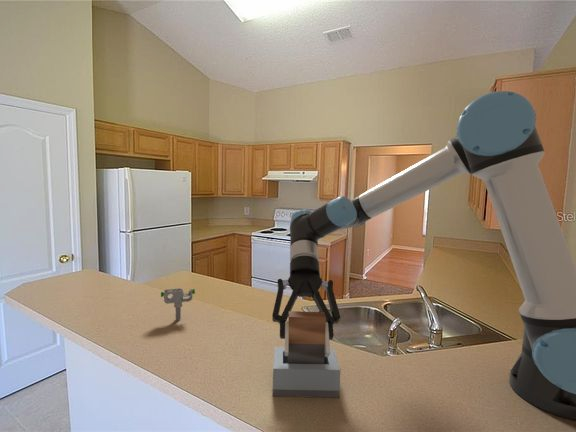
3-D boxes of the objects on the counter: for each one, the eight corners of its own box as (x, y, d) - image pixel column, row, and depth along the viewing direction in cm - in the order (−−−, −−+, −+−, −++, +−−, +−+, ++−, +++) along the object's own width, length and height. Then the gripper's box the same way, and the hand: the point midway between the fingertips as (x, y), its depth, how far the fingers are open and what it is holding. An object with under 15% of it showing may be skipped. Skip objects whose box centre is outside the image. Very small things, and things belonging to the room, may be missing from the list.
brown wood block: (287, 357, 69) (288, 311, 68) (322, 358, 69) (324, 312, 68) (287, 365, 66) (289, 316, 65) (323, 366, 66) (326, 317, 65)
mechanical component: (194, 319, 99) (194, 289, 98) (160, 323, 95) (160, 292, 95) (194, 315, 102) (194, 287, 101) (161, 319, 98) (161, 289, 97)
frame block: (273, 370, 72) (274, 346, 72) (332, 371, 73) (333, 347, 72) (272, 396, 63) (273, 368, 63) (339, 397, 64) (340, 370, 63)
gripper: (341, 270, 82) (352, 360, 67) (264, 268, 81) (258, 358, 67) (346, 255, 76) (359, 350, 61) (263, 252, 76) (256, 347, 61)
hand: (307, 354), depth 64 cm, fingers closed on brown wood block, 8 cm apart
